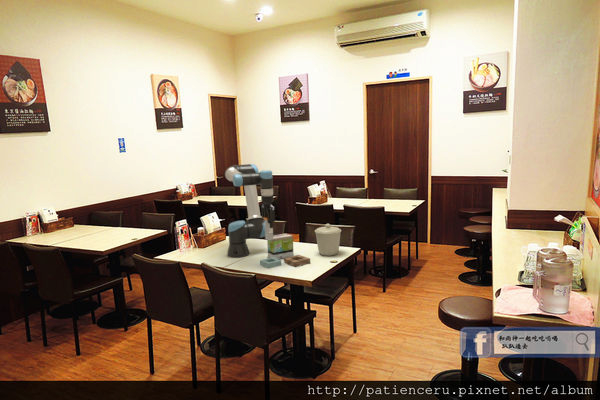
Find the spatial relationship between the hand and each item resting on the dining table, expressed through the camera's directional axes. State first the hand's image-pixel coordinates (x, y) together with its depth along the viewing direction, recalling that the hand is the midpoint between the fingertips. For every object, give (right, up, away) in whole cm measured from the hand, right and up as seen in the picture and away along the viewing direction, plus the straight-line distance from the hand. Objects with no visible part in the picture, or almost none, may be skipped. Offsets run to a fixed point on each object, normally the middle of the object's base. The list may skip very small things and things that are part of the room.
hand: (269, 232), depth 251 cm
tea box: (+6, -19, +21) cm, 28 cm away
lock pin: (0, -5, +1) cm, 5 cm away
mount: (+1, -21, +3) cm, 21 cm away
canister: (+39, -17, +23) cm, 48 cm away
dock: (+18, -20, +5) cm, 27 cm away
